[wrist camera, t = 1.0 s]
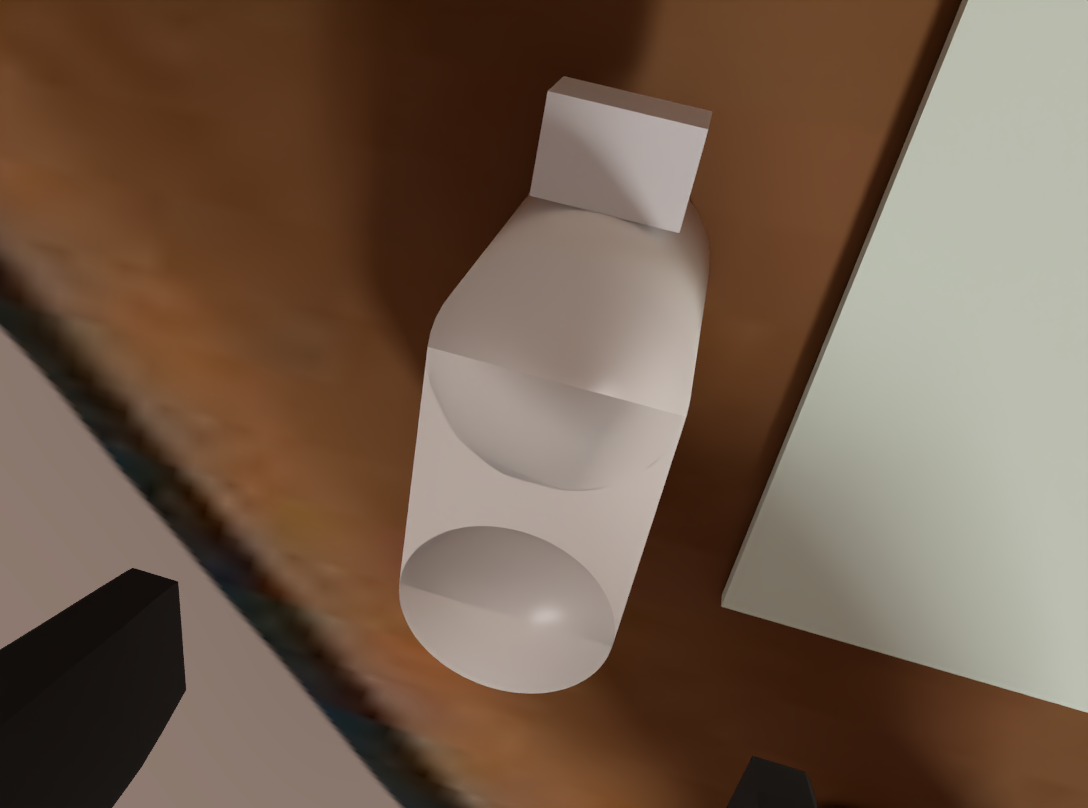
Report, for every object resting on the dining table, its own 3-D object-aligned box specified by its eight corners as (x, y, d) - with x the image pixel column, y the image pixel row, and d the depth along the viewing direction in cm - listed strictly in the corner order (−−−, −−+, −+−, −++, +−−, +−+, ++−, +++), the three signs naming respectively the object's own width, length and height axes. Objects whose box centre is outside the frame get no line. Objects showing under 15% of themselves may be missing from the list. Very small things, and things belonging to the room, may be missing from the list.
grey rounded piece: (625, 549, 21) (589, 717, 16) (465, 503, 21) (390, 656, 17) (763, 98, 15) (762, 179, 11) (541, 46, 15) (456, 105, 11)
